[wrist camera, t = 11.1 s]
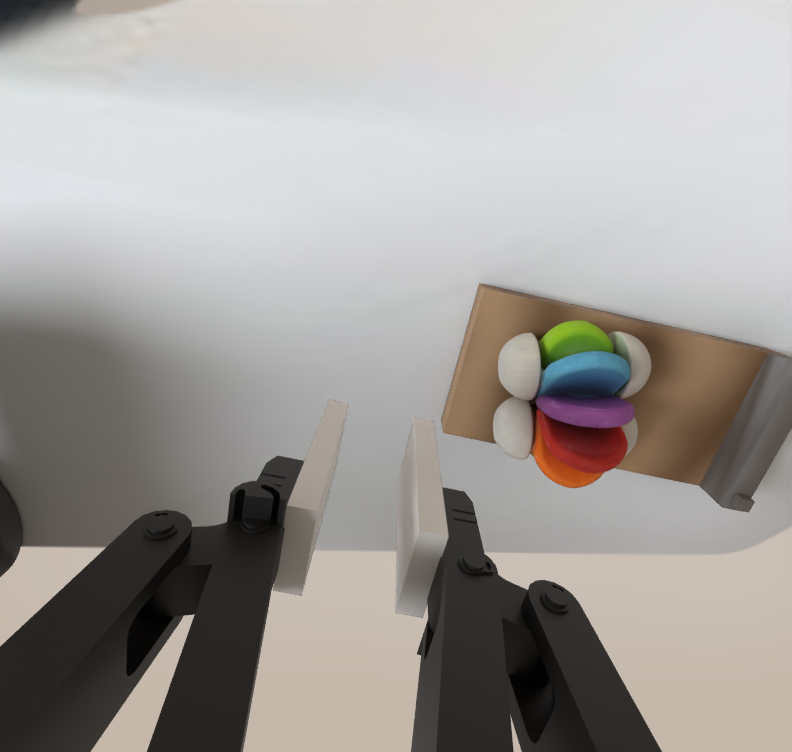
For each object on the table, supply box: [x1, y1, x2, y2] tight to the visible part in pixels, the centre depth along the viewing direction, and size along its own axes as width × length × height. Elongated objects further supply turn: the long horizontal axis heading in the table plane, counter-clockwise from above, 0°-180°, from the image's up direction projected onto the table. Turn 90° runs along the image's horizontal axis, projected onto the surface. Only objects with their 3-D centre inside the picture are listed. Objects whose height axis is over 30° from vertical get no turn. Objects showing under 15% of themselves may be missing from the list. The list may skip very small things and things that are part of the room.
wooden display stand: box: [441, 284, 792, 512], centre depth 30 cm, size 20×10×5 cm, turn 78°
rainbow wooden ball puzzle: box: [493, 320, 651, 488], centre depth 27 cm, size 8×10×7 cm
